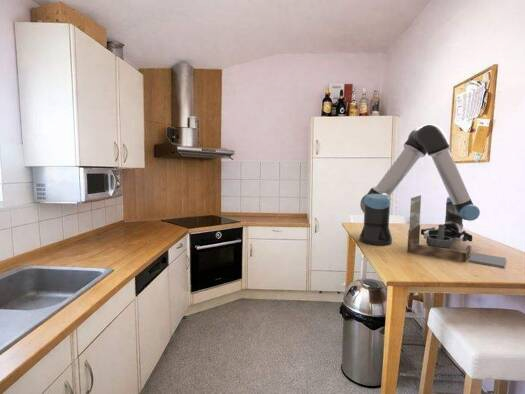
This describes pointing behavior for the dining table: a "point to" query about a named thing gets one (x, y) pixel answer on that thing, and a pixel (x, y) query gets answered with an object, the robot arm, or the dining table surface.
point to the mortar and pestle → (439, 239)
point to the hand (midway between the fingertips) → (442, 238)
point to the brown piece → (424, 249)
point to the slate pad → (487, 260)
